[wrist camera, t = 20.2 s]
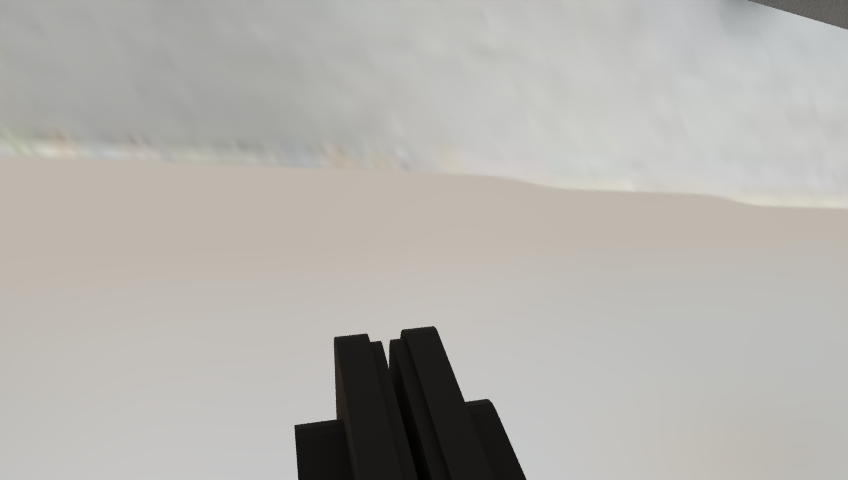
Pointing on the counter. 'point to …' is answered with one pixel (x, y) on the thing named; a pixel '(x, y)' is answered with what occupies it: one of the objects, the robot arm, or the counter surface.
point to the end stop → (814, 9)
